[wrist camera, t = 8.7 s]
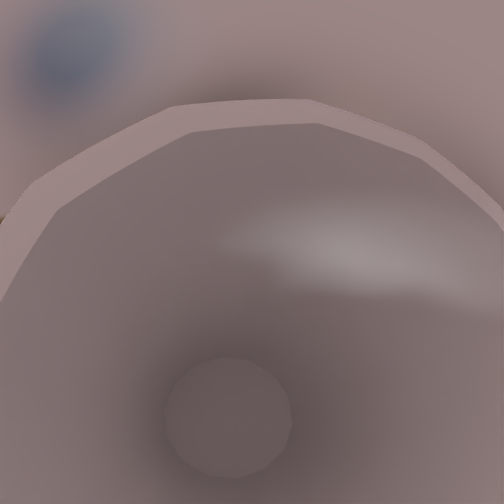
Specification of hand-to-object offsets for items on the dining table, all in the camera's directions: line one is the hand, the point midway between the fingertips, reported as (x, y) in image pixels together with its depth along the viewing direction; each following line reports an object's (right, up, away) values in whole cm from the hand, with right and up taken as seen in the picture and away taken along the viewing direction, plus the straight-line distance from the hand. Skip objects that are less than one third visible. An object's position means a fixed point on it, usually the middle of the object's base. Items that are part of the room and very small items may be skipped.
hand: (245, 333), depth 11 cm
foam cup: (-1, -5, +3) cm, 6 cm away
